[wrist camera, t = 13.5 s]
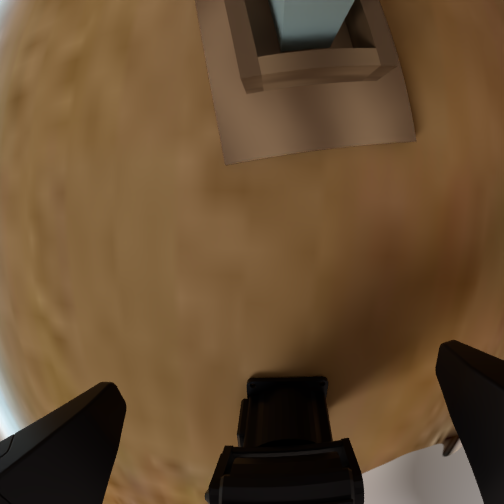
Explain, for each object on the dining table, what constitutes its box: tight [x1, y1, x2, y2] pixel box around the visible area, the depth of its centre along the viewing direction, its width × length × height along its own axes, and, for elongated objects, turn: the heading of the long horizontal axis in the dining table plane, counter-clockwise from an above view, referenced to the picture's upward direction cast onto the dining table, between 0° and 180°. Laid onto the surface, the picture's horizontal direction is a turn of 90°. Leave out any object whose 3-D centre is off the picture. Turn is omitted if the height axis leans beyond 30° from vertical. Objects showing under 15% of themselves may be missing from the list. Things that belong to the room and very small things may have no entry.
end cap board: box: [195, 0, 416, 165], centre depth 13 cm, size 12×18×4 cm, turn 10°
